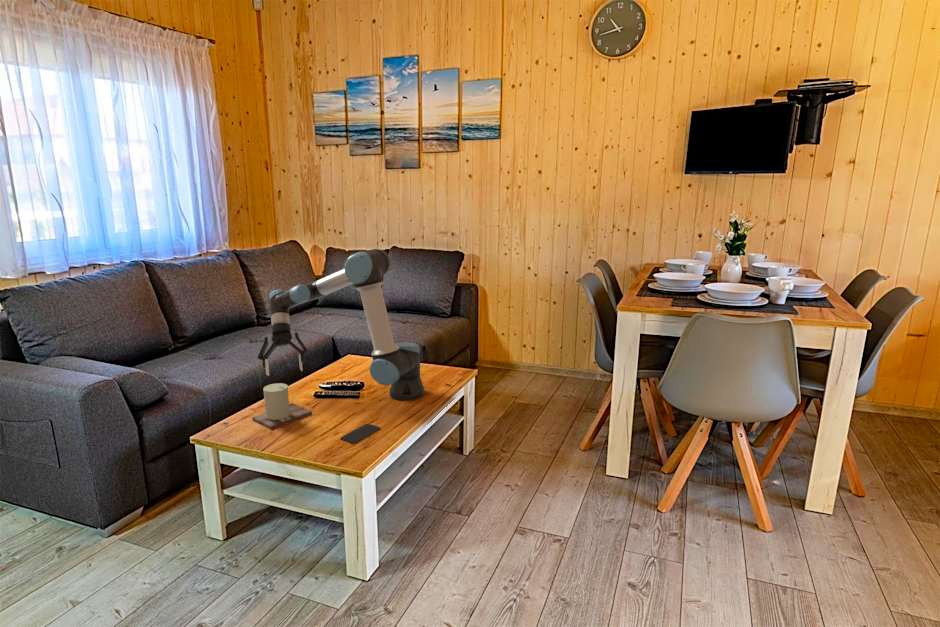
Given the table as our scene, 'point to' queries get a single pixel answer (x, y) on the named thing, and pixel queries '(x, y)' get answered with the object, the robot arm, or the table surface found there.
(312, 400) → the table surface
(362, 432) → the phone
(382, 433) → the table surface
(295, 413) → the grey flat block
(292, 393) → the table surface
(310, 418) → the table surface
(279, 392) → the can
